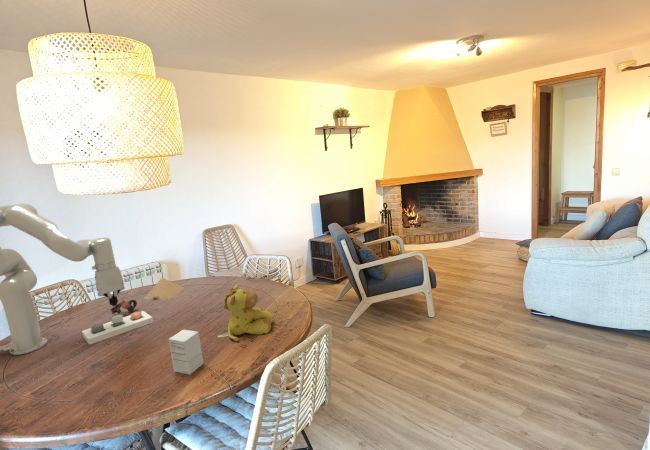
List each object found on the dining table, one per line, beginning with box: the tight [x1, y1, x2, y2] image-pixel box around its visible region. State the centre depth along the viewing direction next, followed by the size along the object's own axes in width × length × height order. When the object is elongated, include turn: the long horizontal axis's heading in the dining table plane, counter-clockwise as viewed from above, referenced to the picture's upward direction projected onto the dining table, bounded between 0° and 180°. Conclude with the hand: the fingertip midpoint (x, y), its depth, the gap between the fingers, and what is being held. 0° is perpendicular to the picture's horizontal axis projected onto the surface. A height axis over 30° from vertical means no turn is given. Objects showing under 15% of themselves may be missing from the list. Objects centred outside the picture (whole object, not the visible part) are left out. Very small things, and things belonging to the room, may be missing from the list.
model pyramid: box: [143, 277, 186, 301], centre depth 209 cm, size 17×17×10 cm
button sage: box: [110, 314, 124, 327], centre depth 167 cm, size 5×5×4 cm
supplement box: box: [168, 329, 204, 376], centre depth 130 cm, size 7×7×13 cm
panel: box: [81, 310, 154, 346], centre depth 168 cm, size 26×12×2 cm, turn 134°
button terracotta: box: [131, 311, 142, 321], centre depth 173 cm, size 5×5×4 cm
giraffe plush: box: [217, 283, 274, 342], centre depth 156 cm, size 20×24×19 cm
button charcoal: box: [90, 323, 104, 334], centre depth 162 cm, size 5×5×4 cm
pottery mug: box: [110, 299, 138, 317], centre depth 185 cm, size 12×10×8 cm
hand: (114, 305), depth 165 cm, fingers closed
